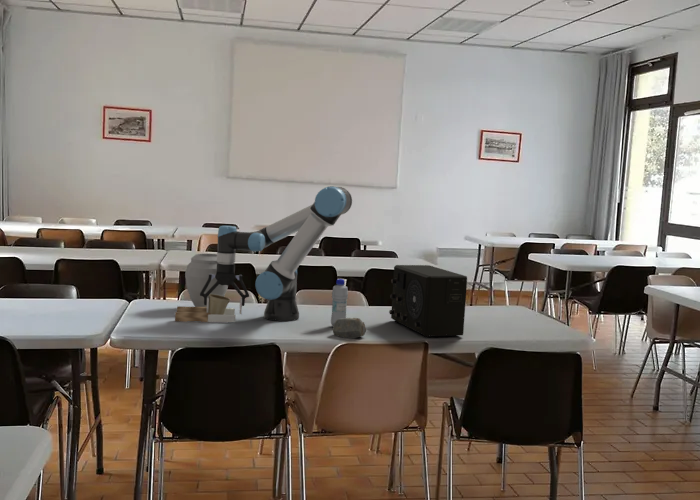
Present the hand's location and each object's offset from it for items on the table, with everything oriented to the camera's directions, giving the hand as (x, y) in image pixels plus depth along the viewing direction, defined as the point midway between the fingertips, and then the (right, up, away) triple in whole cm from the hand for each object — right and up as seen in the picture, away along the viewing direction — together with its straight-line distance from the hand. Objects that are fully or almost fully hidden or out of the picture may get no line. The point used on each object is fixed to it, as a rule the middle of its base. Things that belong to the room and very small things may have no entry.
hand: (224, 313), depth 294 cm
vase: (-11, 0, +18) cm, 22 cm away
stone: (+52, -7, -20) cm, 57 cm away
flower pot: (-4, -2, 0) cm, 4 cm away
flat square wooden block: (-12, -2, -2) cm, 13 cm away
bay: (-1, -2, 0) cm, 3 cm away
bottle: (+48, -5, -4) cm, 48 cm away
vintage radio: (+83, -7, +2) cm, 84 cm away
